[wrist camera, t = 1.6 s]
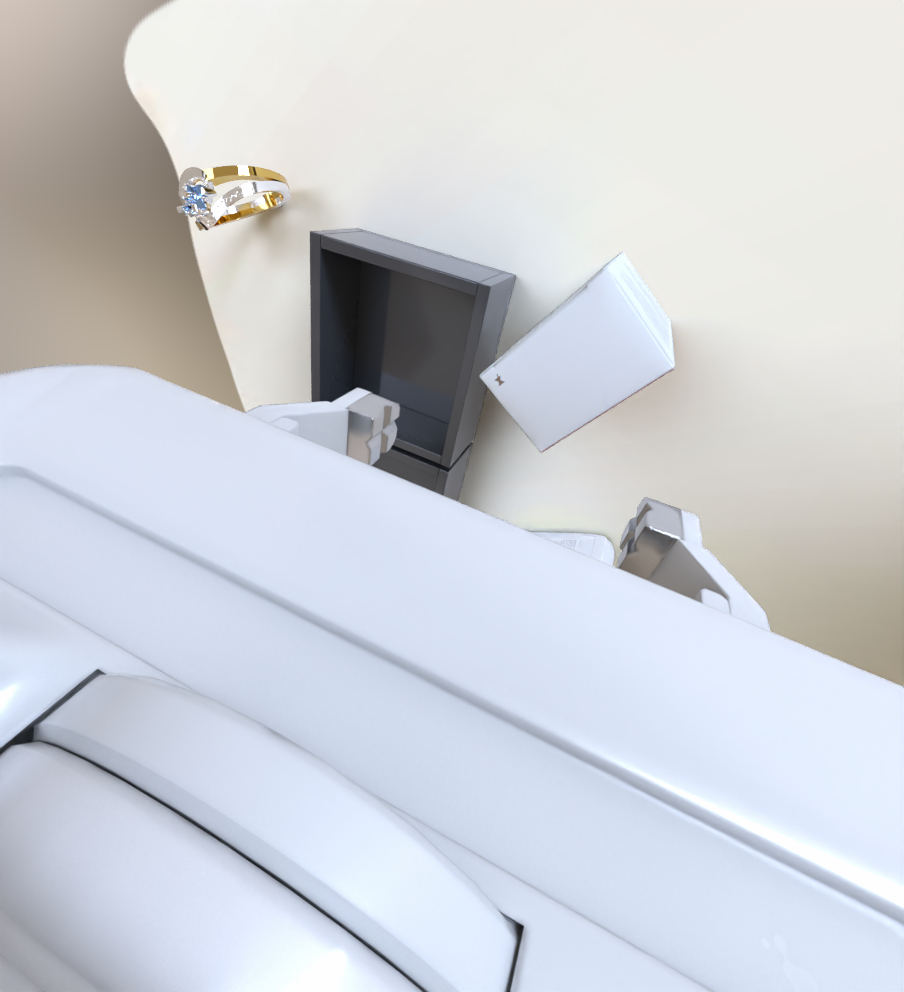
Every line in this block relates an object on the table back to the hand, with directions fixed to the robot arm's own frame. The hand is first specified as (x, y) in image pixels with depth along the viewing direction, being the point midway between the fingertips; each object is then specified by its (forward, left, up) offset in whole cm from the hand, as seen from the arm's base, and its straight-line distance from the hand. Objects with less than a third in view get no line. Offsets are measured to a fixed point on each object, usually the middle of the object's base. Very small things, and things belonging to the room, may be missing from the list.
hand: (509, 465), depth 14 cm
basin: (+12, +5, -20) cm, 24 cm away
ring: (+26, -2, -21) cm, 33 cm away
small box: (0, 0, -21) cm, 21 cm away
